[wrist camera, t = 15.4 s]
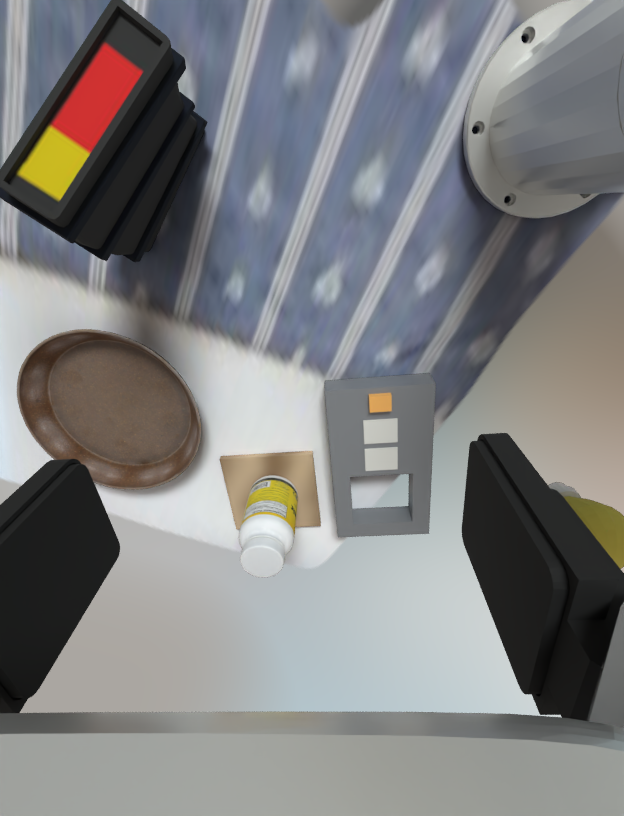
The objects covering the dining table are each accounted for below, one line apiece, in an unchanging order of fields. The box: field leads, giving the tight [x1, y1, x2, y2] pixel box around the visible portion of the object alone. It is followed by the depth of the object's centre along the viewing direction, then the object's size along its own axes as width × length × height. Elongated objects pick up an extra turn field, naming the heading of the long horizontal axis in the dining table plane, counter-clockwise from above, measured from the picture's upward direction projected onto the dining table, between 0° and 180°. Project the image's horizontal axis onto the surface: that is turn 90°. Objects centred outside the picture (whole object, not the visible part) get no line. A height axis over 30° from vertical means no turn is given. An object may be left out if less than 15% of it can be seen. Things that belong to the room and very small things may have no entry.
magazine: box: [0, 0, 207, 262], centre depth 27 cm, size 4×13×15 cm, turn 146°
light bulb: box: [548, 482, 624, 569], centre depth 39 cm, size 7×7×10 cm
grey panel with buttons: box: [325, 373, 436, 537], centre depth 41 cm, size 10×18×3 cm, turn 6°
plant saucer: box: [17, 329, 201, 490], centre depth 40 cm, size 18×18×3 cm
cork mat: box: [220, 451, 321, 529], centre depth 45 cm, size 10×10×1 cm
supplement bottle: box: [239, 475, 298, 577], centre depth 41 cm, size 5×5×10 cm
